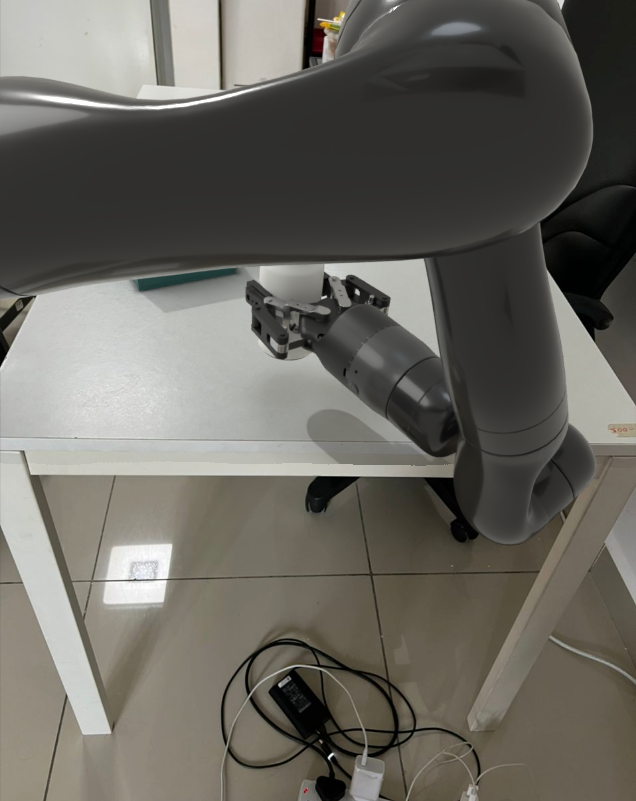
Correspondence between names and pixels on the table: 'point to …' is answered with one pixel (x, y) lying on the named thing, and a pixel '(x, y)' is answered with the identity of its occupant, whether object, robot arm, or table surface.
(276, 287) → the can
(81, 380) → the table surface
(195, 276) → the teal open storage bin
